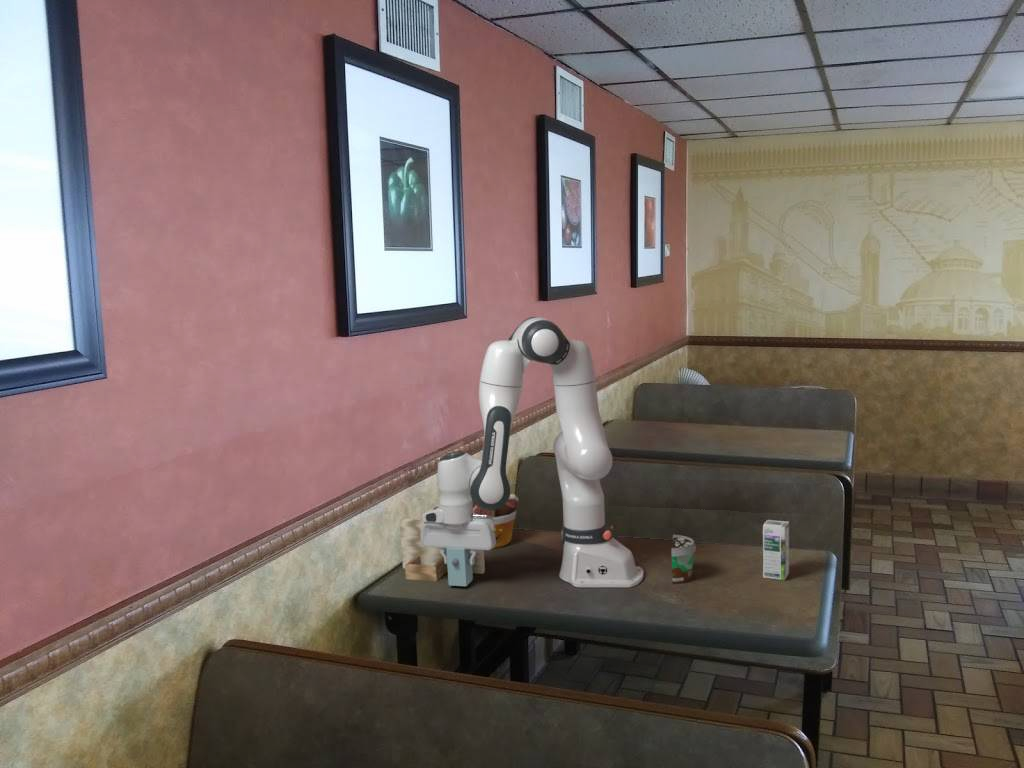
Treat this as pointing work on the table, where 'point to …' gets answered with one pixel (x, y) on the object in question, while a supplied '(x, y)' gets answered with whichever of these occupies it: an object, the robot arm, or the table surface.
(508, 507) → the bucket of meat
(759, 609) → the table surface
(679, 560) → the food container
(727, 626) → the table surface
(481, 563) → the cleat board
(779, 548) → the syrup box
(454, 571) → the cabinet block
